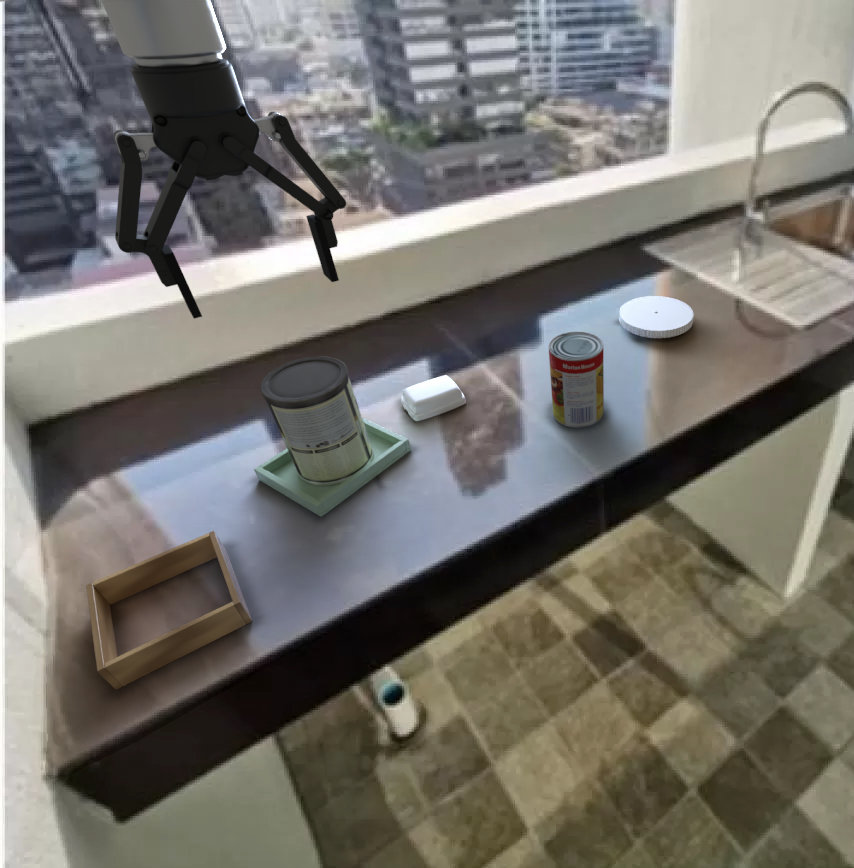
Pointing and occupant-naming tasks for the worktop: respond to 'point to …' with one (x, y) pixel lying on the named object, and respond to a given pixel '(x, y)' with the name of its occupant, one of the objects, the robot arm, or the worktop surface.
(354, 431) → the coffee can
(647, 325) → the plastic lid
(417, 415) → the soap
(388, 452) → the tray
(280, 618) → the worktop surface
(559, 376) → the canned food
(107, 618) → the can stand
